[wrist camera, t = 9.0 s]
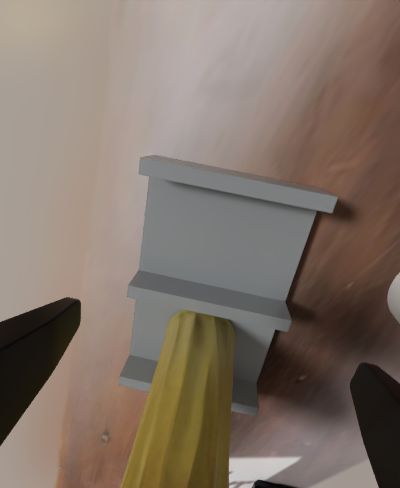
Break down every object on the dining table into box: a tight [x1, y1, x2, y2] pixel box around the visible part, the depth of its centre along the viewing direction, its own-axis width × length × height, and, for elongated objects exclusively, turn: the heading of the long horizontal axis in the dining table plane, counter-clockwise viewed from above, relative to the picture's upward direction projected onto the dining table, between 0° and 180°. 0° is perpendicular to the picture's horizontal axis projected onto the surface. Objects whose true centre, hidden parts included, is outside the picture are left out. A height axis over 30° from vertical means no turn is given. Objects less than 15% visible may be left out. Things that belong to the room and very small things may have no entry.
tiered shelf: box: [119, 155, 338, 416], centre depth 21 cm, size 19×12×3 cm, turn 170°
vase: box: [120, 310, 236, 488], centre depth 17 cm, size 6×6×14 cm
